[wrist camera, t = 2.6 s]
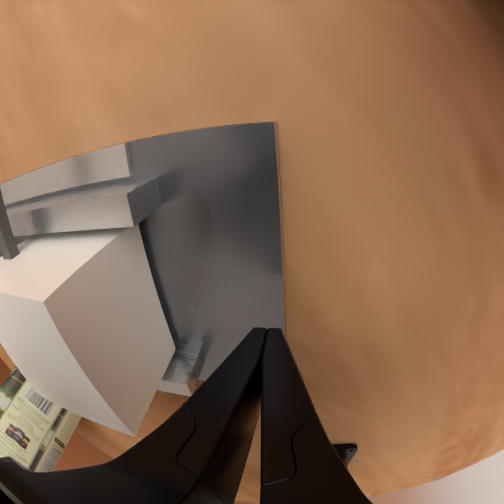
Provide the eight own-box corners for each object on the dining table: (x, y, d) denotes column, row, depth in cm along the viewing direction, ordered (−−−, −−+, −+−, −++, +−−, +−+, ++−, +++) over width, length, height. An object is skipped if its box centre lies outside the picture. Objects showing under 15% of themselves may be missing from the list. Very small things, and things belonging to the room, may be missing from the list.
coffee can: (35, 387, 26) (-8, 455, 14) (11, 342, 21) (-48, 423, 9) (93, 424, 26) (53, 503, 14) (76, 387, 21) (18, 490, 9)
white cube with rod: (176, 348, 12) (135, 437, 8) (12, 312, 15) (-25, 352, 10) (122, 137, 8) (0, 177, 4) (-32, 197, 11) (-82, 228, 6)
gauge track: (285, 369, 14) (271, 495, 8) (0, 315, 19) (-39, 357, 12) (276, 121, 9) (224, 132, 2) (-43, 206, 13) (-95, 241, 7)
